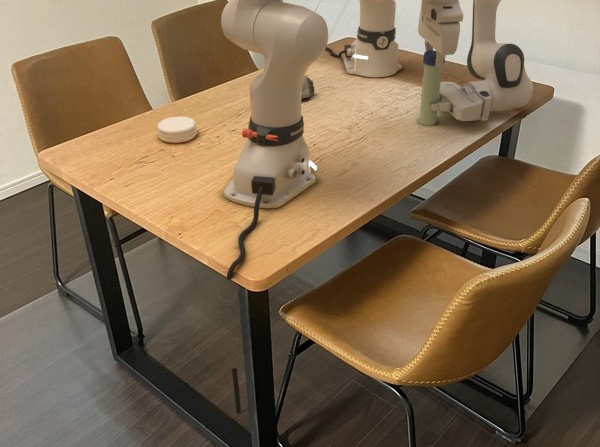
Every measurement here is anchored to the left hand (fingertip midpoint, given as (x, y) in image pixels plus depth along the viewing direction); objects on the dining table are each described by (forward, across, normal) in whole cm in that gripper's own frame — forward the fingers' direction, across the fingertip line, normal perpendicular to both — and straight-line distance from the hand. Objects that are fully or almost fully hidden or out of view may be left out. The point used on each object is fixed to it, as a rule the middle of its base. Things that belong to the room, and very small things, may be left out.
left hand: (433, 61), depth 160 cm
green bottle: (+17, 0, 0) cm, 17 cm away
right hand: (+11, 0, -1) cm, 11 cm away
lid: (-2, 0, 0) cm, 2 cm away
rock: (+17, -27, -34) cm, 47 cm away
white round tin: (+17, -2, -67) cm, 69 cm away
